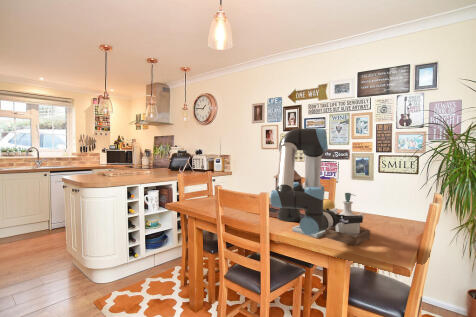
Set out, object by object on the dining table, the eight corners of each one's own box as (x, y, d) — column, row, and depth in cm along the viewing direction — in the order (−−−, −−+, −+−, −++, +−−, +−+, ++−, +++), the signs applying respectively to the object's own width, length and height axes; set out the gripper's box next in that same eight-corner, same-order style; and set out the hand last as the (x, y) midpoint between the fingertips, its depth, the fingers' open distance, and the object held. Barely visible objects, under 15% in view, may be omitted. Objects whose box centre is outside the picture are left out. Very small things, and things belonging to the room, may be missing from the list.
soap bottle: (361, 241, 122) (362, 194, 121) (341, 241, 122) (341, 194, 122) (352, 235, 132) (353, 191, 131) (334, 234, 132) (334, 191, 131)
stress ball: (336, 215, 175) (335, 204, 183) (334, 206, 170) (333, 195, 177) (321, 216, 179) (320, 205, 186) (319, 208, 173) (318, 196, 180)
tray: (292, 230, 138) (292, 227, 138) (308, 225, 147) (308, 222, 147) (316, 238, 126) (316, 234, 126) (332, 232, 136) (332, 228, 136)
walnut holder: (324, 237, 128) (325, 229, 128) (340, 231, 138) (340, 223, 138) (355, 245, 116) (355, 237, 116) (369, 238, 126) (369, 230, 126)
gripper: (302, 222, 123) (326, 215, 137) (353, 235, 104) (375, 226, 118) (303, 207, 123) (326, 201, 137) (353, 217, 104) (375, 210, 118)
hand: (349, 213), depth 127 cm, fingers open, 13 cm apart
